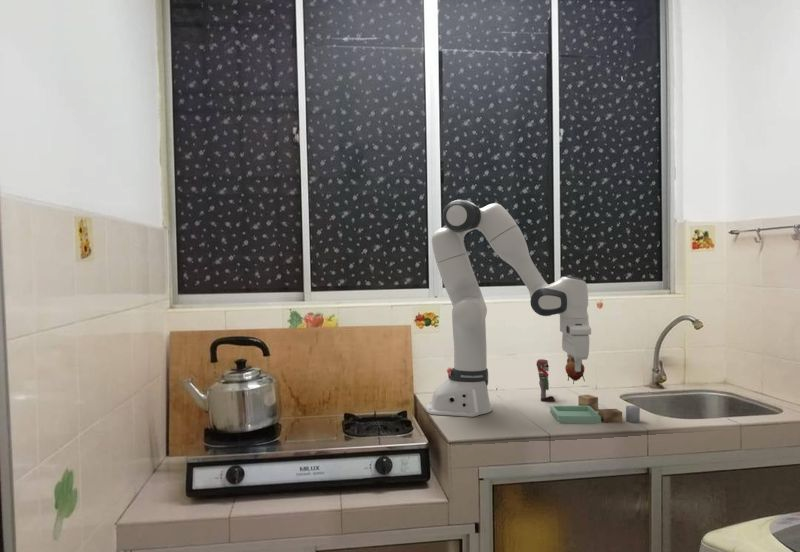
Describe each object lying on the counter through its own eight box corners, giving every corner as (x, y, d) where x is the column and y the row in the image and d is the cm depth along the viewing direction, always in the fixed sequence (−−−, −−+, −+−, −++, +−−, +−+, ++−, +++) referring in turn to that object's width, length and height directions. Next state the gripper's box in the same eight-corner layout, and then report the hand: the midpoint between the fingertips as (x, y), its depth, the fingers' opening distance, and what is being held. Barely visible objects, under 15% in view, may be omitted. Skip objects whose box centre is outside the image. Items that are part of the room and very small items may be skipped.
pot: (584, 385, 172) (585, 379, 177) (583, 361, 171) (584, 355, 177) (565, 385, 174) (566, 379, 180) (563, 361, 173) (565, 355, 179)
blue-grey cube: (628, 423, 169) (628, 408, 168) (624, 419, 173) (624, 405, 172) (641, 423, 168) (641, 408, 168) (637, 419, 172) (637, 405, 172)
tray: (558, 422, 170) (558, 416, 170) (550, 411, 183) (550, 405, 183) (601, 423, 169) (601, 416, 169) (589, 411, 182) (589, 405, 182)
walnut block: (603, 423, 169) (603, 412, 169) (598, 420, 173) (597, 409, 173) (622, 423, 169) (622, 412, 169) (615, 419, 173) (615, 408, 173)
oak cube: (587, 412, 182) (587, 398, 182) (578, 408, 186) (578, 395, 186) (598, 410, 184) (598, 397, 184) (588, 407, 188) (588, 394, 188)
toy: (556, 406, 189) (556, 363, 188) (537, 406, 190) (537, 363, 190) (552, 394, 206) (552, 355, 206) (535, 394, 207) (535, 355, 207)
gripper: (557, 323, 186) (557, 363, 186) (571, 330, 165) (572, 375, 166) (576, 322, 185) (576, 363, 185) (592, 329, 165) (593, 375, 165)
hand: (574, 369), depth 175 cm, fingers closed on pot, 6 cm apart
